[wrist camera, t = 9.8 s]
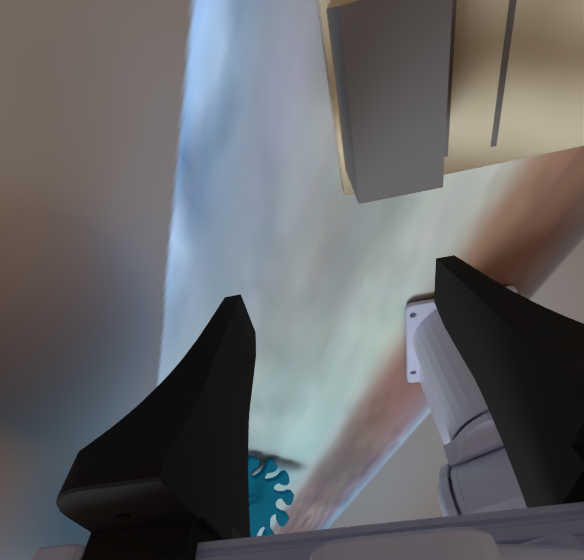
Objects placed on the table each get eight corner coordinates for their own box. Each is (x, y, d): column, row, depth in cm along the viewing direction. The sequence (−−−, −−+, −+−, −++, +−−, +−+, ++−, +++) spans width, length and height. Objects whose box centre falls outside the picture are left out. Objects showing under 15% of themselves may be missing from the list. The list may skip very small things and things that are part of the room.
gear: (310, 481, 40) (266, 572, 38) (291, 461, 46) (252, 538, 43) (232, 440, 37) (178, 535, 35) (221, 424, 43) (174, 504, 40)
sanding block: (412, 155, 18) (442, 187, 15) (345, 169, 19) (359, 203, 15) (412, -14, 14) (453, -25, 11) (325, 9, 15) (338, 5, 11)
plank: (573, 138, 19) (589, 144, 18) (341, 187, 21) (344, 195, 20) (644, -127, 13) (672, -138, 12) (312, -34, 15) (315, -37, 14)
